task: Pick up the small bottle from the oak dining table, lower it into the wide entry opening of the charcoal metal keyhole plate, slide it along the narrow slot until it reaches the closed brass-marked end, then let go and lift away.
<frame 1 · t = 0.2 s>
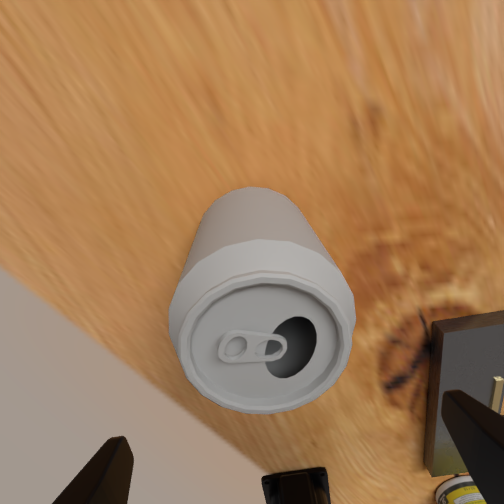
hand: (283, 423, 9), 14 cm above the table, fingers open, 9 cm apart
supplement bottle: (457, 488, 34), on the table
can: (252, 237, 23), on the table
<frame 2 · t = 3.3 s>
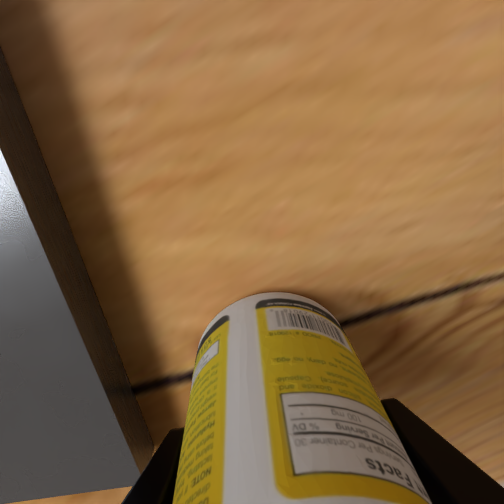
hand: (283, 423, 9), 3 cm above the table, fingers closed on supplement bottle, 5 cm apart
supplement bottle: (272, 348, 12), on the table, touching gripper
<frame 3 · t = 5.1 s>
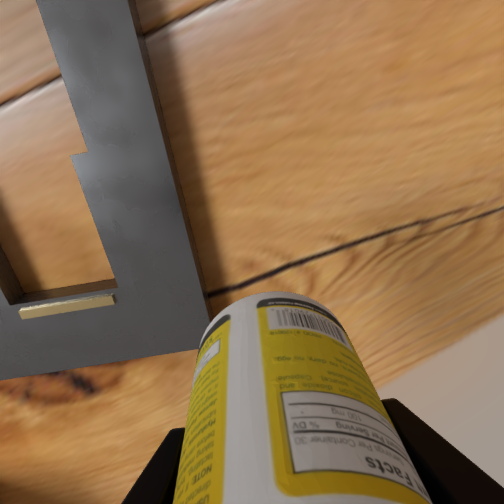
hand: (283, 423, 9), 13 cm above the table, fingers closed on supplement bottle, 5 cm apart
supplement bottle: (273, 347, 12), point 10 cm above the table, touching gripper
keyhole plate: (34, 189, 19), on the table
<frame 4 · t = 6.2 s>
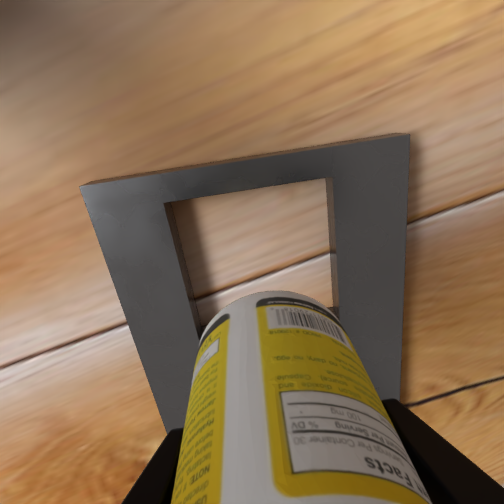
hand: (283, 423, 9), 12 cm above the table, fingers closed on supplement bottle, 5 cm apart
supplement bottle: (272, 346, 12), point 9 cm above the table, touching gripper
keyhole plate: (269, 334, 22), on the table
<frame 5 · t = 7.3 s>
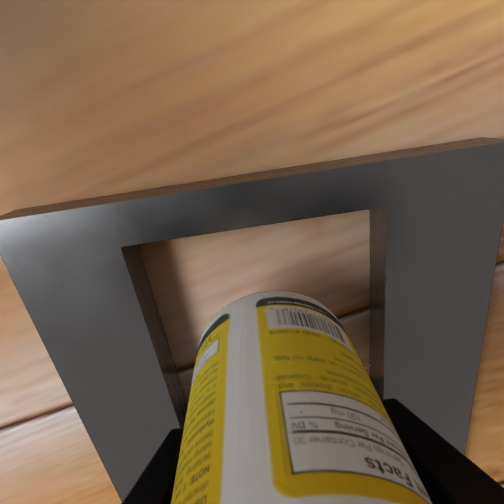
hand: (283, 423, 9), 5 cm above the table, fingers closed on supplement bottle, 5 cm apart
supplement bottle: (272, 346, 12), point 2 cm above the table, touching gripper
keyhole plate: (281, 413, 16), on the table
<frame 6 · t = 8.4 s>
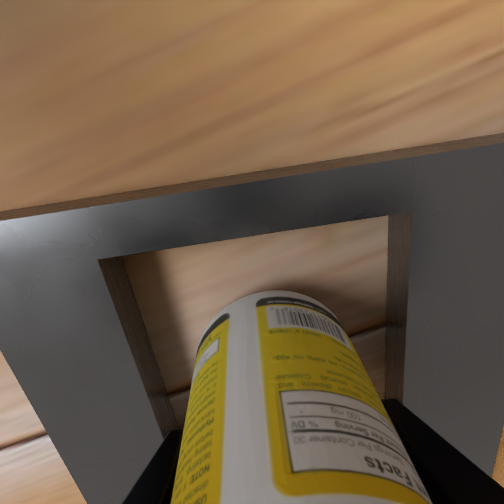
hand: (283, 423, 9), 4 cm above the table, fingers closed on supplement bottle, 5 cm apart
supplement bottle: (272, 346, 12), resting in keyhole plate, touching gripper
keyhole plate: (285, 440, 15), on the table
when the fingers open (4 cm above the table, at t = 11.6 s): supplement bottle stays where it is, resting in keyhole plate.
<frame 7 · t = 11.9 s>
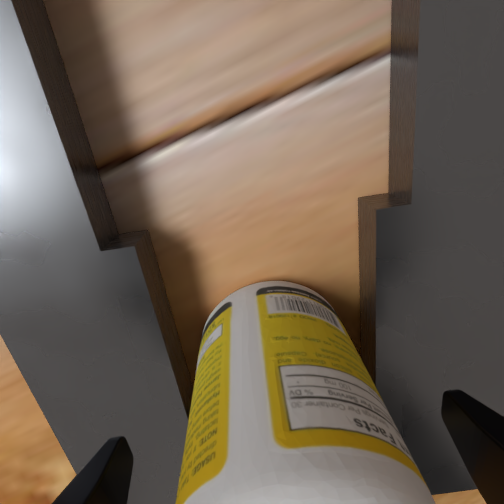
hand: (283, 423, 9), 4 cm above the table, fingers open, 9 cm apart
supplement bottle: (271, 334, 13), resting in keyhole plate
keyhole plate: (258, 255, 11), on the table
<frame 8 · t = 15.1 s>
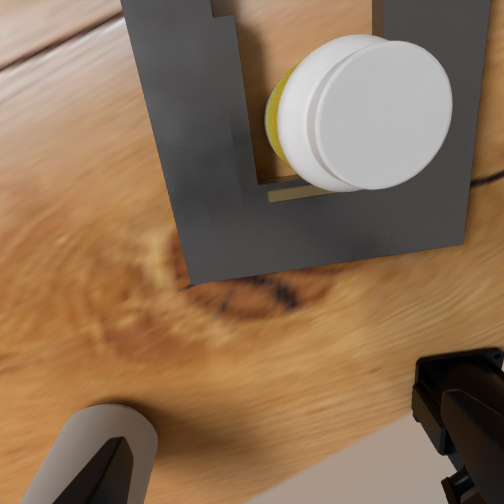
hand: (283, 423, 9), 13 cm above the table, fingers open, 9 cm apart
supplement bottle: (310, 119, 18), resting in keyhole plate
keyhole plate: (305, 46, 17), on the table
can: (116, 427, 27), on the table
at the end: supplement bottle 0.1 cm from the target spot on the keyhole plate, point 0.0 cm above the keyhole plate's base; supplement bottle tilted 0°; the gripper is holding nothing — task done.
